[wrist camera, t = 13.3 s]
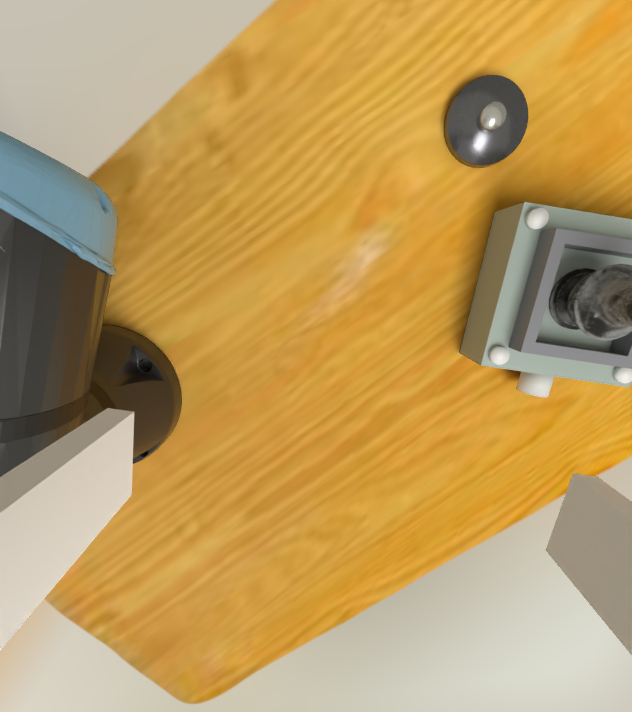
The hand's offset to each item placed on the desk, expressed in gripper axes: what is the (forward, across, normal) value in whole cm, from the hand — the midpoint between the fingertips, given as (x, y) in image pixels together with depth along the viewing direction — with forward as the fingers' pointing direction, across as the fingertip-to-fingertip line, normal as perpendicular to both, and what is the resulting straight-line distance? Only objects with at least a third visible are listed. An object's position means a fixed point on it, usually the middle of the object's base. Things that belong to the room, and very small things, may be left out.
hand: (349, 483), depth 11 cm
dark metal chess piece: (+22, +21, +7) cm, 31 cm away
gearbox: (+27, +21, +6) cm, 34 cm away
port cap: (+27, +11, +21) cm, 36 cm away
